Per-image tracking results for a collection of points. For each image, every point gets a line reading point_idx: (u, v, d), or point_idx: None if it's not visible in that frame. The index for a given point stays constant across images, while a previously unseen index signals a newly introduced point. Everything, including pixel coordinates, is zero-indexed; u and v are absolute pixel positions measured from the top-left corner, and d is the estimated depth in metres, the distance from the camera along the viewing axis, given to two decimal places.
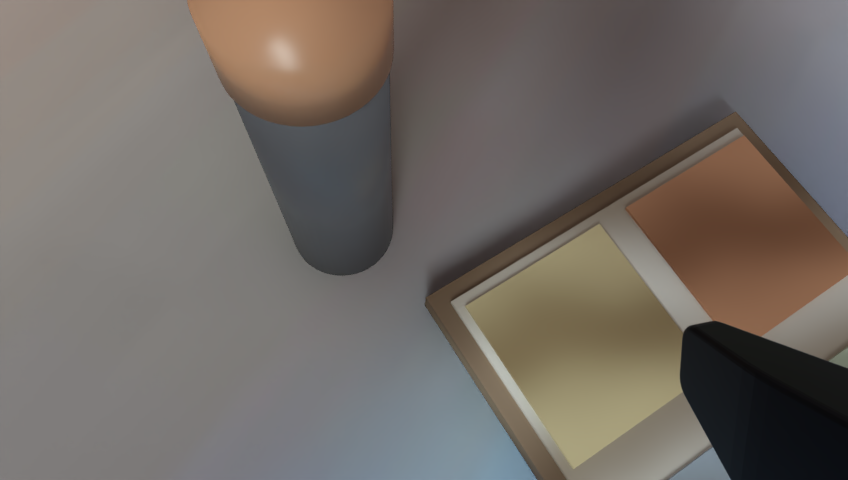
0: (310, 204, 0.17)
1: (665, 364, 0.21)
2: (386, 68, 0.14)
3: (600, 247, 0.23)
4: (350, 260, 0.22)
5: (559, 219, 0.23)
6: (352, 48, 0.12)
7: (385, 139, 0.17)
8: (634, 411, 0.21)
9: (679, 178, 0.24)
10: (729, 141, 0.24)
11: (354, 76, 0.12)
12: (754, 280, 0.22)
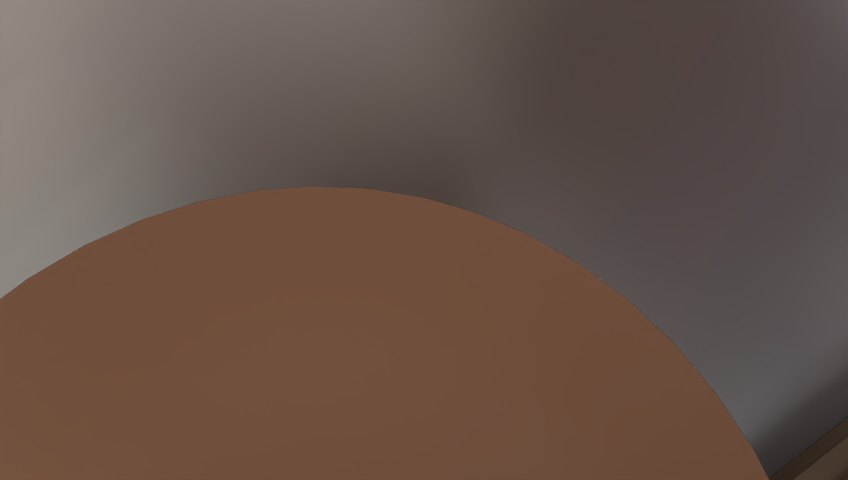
0: None
1: None
2: None
3: None
4: None
5: None
6: None
7: None
8: None
9: None
10: None
11: None
12: None
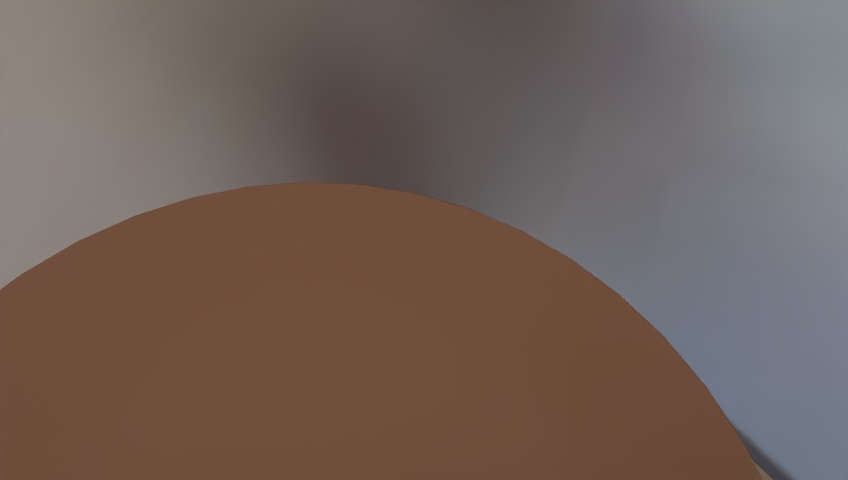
0: None
1: None
2: None
3: None
4: None
5: None
6: None
7: None
8: None
9: None
10: None
11: None
12: None
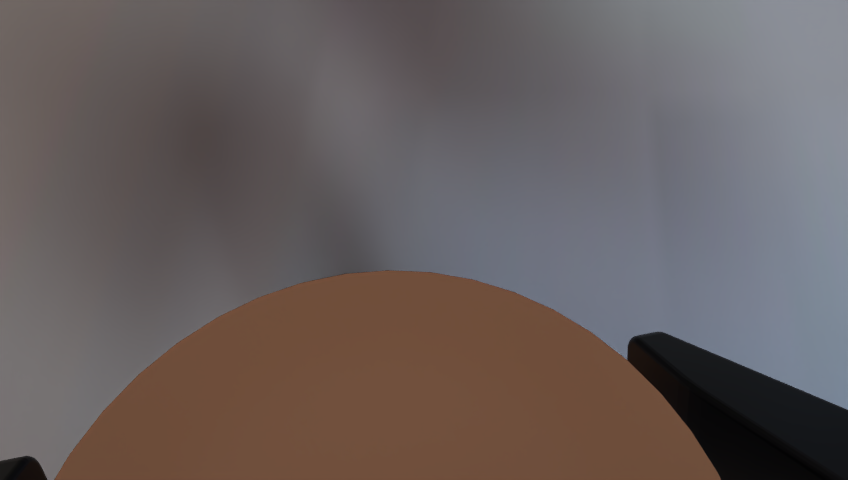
0: None
1: None
2: None
3: None
4: None
5: None
6: None
7: None
8: None
9: None
10: None
11: None
12: None
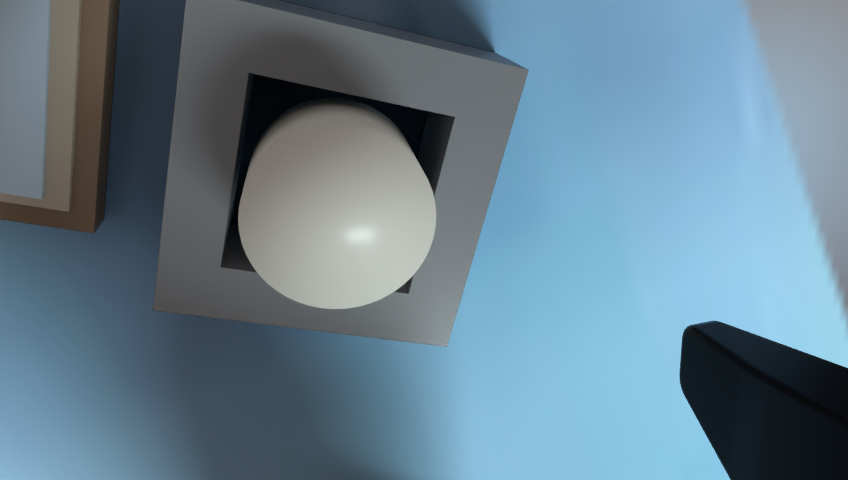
0: None
1: None
2: None
3: None
4: None
5: None
6: None
7: None
8: None
9: None
10: None
11: None
12: None
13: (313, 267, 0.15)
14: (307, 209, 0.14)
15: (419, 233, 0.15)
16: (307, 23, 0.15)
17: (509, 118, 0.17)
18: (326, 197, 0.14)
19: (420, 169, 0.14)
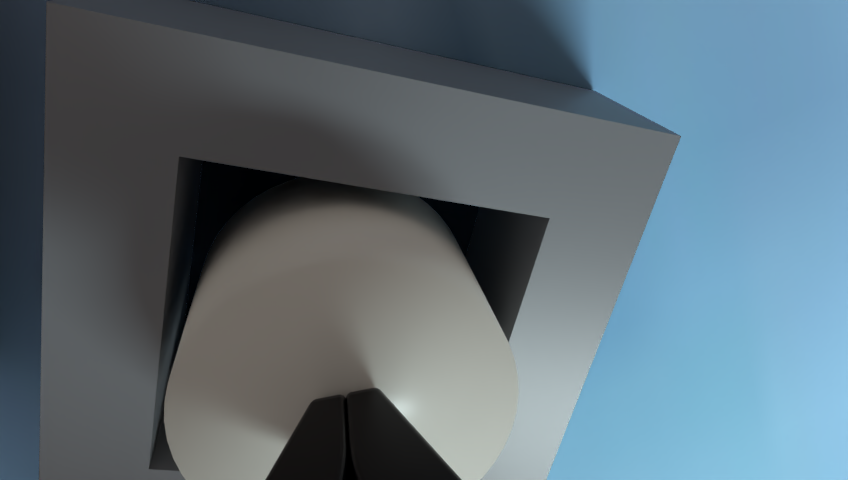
0: None
1: None
2: None
3: None
4: None
5: None
6: None
7: None
8: None
9: None
10: None
11: None
12: None
13: None
14: (290, 399, 0.08)
15: (488, 423, 0.09)
16: (288, 64, 0.08)
17: (641, 216, 0.10)
18: (324, 377, 0.08)
19: (494, 324, 0.08)
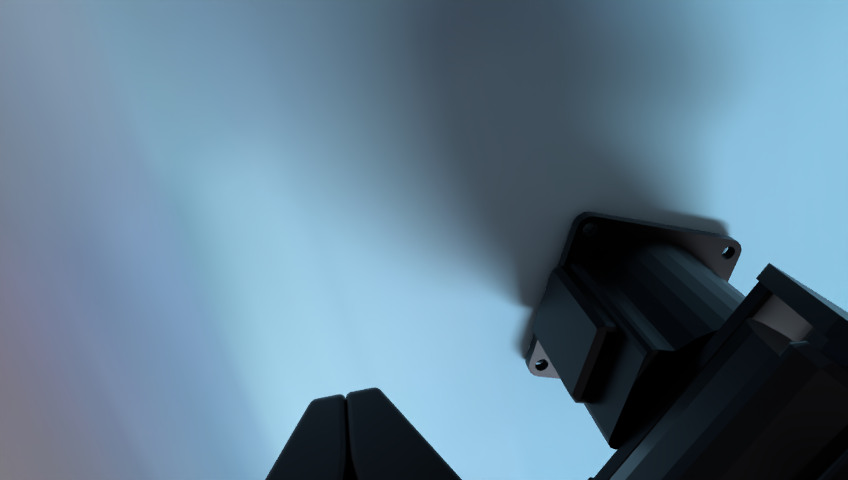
0: None
1: None
2: None
3: None
4: None
5: None
6: None
7: None
8: None
9: None
10: None
11: None
12: None
13: None
14: None
15: None
16: None
17: None
18: None
19: None
